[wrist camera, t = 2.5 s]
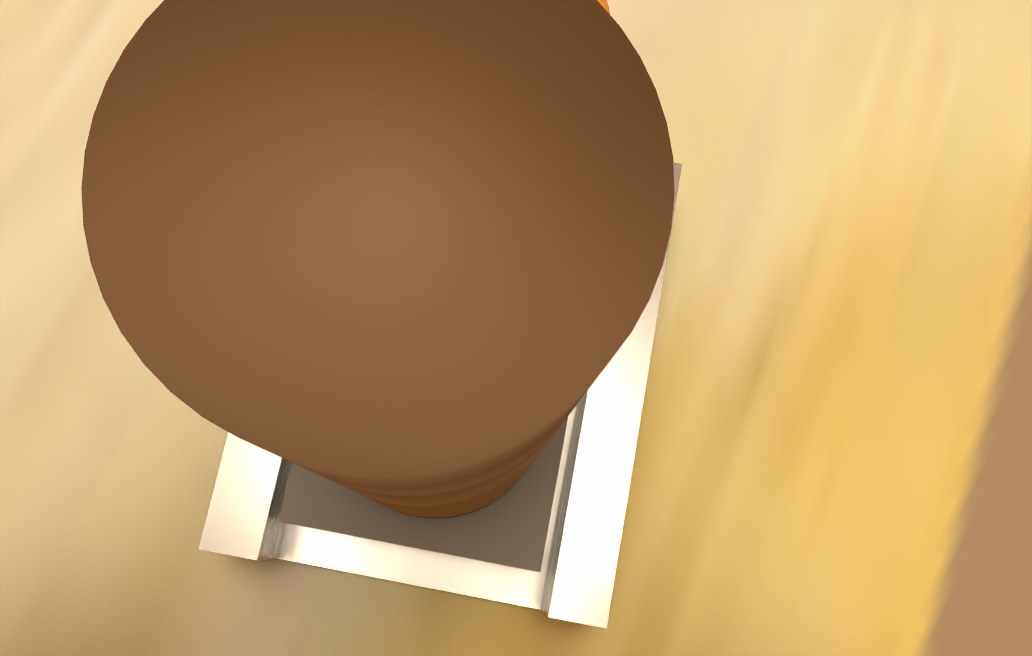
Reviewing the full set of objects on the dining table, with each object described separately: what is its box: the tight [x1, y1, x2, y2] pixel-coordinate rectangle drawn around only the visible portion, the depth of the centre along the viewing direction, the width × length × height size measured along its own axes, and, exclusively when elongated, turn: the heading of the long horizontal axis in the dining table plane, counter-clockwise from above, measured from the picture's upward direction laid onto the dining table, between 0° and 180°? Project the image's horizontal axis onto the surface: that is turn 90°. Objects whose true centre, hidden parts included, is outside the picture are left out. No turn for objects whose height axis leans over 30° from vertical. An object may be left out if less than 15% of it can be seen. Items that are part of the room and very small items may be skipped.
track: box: [199, 163, 682, 628], centre depth 19 cm, size 8×7×2 cm
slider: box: [82, 0, 675, 572], centre depth 13 cm, size 6×4×13 cm
